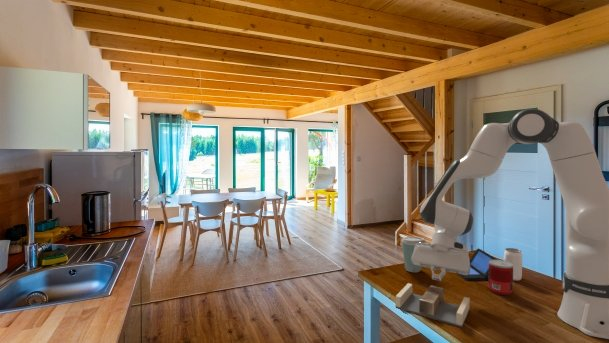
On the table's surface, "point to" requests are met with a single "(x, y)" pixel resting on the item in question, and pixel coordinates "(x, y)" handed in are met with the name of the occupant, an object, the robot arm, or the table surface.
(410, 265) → the disposable coffee cup
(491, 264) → the canned food
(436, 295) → the walnut block
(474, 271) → the handheld game console
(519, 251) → the can
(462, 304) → the rubber mat with end rails
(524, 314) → the table surface
